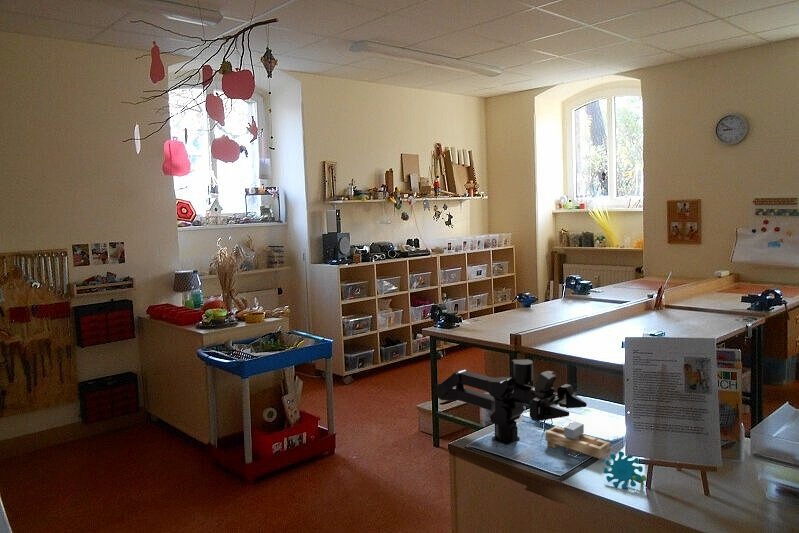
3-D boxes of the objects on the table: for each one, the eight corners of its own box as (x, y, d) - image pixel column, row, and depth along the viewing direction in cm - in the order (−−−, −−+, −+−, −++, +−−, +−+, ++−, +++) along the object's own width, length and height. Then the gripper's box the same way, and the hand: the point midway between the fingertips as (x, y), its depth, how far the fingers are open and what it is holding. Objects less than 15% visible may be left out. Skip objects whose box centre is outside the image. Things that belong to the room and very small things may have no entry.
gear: (596, 476, 162) (612, 444, 165) (601, 484, 166) (617, 452, 169) (635, 496, 154) (652, 462, 157) (640, 504, 158) (656, 470, 161)
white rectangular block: (564, 441, 179) (564, 427, 179) (574, 435, 183) (574, 421, 183) (573, 444, 177) (573, 430, 176) (583, 438, 181) (583, 424, 180)
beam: (545, 446, 184) (544, 431, 184) (556, 440, 189) (556, 425, 188) (599, 465, 171) (599, 449, 171) (610, 457, 176) (610, 441, 175)
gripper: (512, 377, 174) (559, 390, 162) (548, 363, 186) (595, 374, 175) (512, 414, 175) (559, 429, 164) (548, 397, 188) (594, 410, 176)
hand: (577, 409), depth 170 cm, fingers open, 9 cm apart
